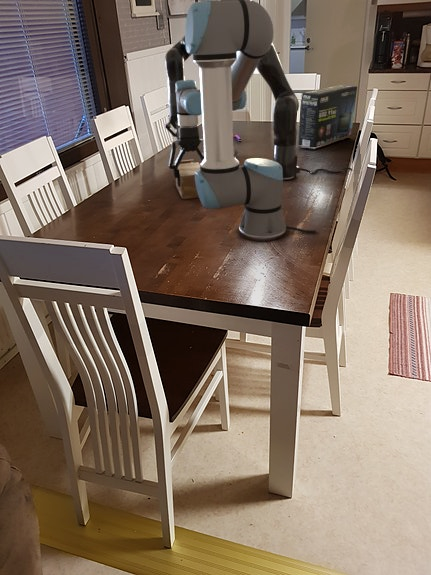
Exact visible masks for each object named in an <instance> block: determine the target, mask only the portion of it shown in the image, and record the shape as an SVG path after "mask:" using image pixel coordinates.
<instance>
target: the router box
mask: <svg viewBox="0 0 431 575" xmlns="http://www.w3.org/2000/svg"><path fill="white" fill-rule="evenodd" d="M357 93H358V86H356V85H350V84H339V85H338V84H337V85H334V86H328V87H324V88H318V89H314V90H309V91H304V92H301V93H300V109H299V110H300V111H299V124H298V137H297V146H298V145H302V146H307V147H317V146H320V145H323V144H325V143H328V142H331V141H333V140H336V139H338V138H341V137H344V136H347V135H351V136H352V133H353V132H352V131H353V125H354V115H355V109H356V99H357ZM311 151H313V150H312V149H311Z"/></svg>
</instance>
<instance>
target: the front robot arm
mask: <svg viewBox="0 0 431 575" xmlns="http://www.w3.org/2000/svg"><path fill="white" fill-rule="evenodd" d="M184 27H185V28H184V36H185V44H186V50H187V53H188V54H191V56H192V62H193V63H194V64H195V65H196V66H197V67H198V69H199V85H200V89H198V87H197V82H196V80H194V79H185V80H180V81H177V82H176V91H175V93H176V100H177V112H178V125H179V141H177V140H176V141H171V142H170V145H171V150H170V154H169V161H168V168H169V170H173V177H175V178H177V185H178V187H180V175H179V169H178V166H179V164H180V162H181V161H182V160H183V157H184V155H185V154H186V153H189V152H196V154H197V155H198V156H199V158H200V159H201V162H200V163H199V164H200V171H197V172H195V184H196V188H197V192H198V196H199V197H198V198H199V201H200V204H201V205H202V207H203V208H204V209H206V210H220V209H226V208H233V207H239V206H244V211H243V213H242V215H241V217H240V218H241V220H240V222H239V225H238V232H239V235H240V236H241V237H242V238H244V239H247V240H250V241H254V242H271V241H277V240H279V239H281V238H283V237H285V235H286V234H287V230H292V231H296V232H301V233H305V234H316V232H317V230H315V229H314V230H311V229H303V228H298V227H294V226H288V225H287V223H286V221H285V216H284V214H283V210H282V200H283V183H284V180H283V170H282V166H281V165H280V164H279V163H277V162H275V161H273V159H268V158H259V157H253V158H251V157H250V158H247V159H245V160H244V163H243V165H240V161H239V160H238V159H237V158H236V156H235V155H234V147H235V146H234V138H233V132H234V119H233V118H234V117H233V116H234V115H233V114H234V113H233V111H234V112H236V111H238V110H239V111H240V110H243V109H244V108H245V107H246V105H247V91H246V89H247V88H248V85H249V83H250V81H251V79H252V77H253V76H254V74H255V70H257V68H256V67H257V65H258V63H259V61H260V59H261V58H263V57H264V56H265V55H266V54H267V53H268V51H269V49H270V47H271V45H272V44H273V41H274V34H275V33H274V24H273V21H272V18H271V16H270V14H269V12H268V11H267V10H266V8H265V7H264V6H263V5H262V4H260V3H258V2H257V1H254V0H203V1H194V2H193V3H192V4H191V5H190V6H189V8H188V10H187V14H186V19H185V26H184ZM200 116H201V119H202V120H201V121H202V136H203V138H200V127H199V117H200ZM200 144H201V145H202V146H203V152H204V156H205V158H204V156H203V155H202V152H201V149H200V148H199V147H200ZM178 145H180V146H181V147H180V146H179V147H180V150H179V153H178V155H177V157H176V152H177V148H178ZM175 157H176V159H175ZM174 161H175V164H174V165H173V162H174ZM175 178H174V179H175Z"/></svg>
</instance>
